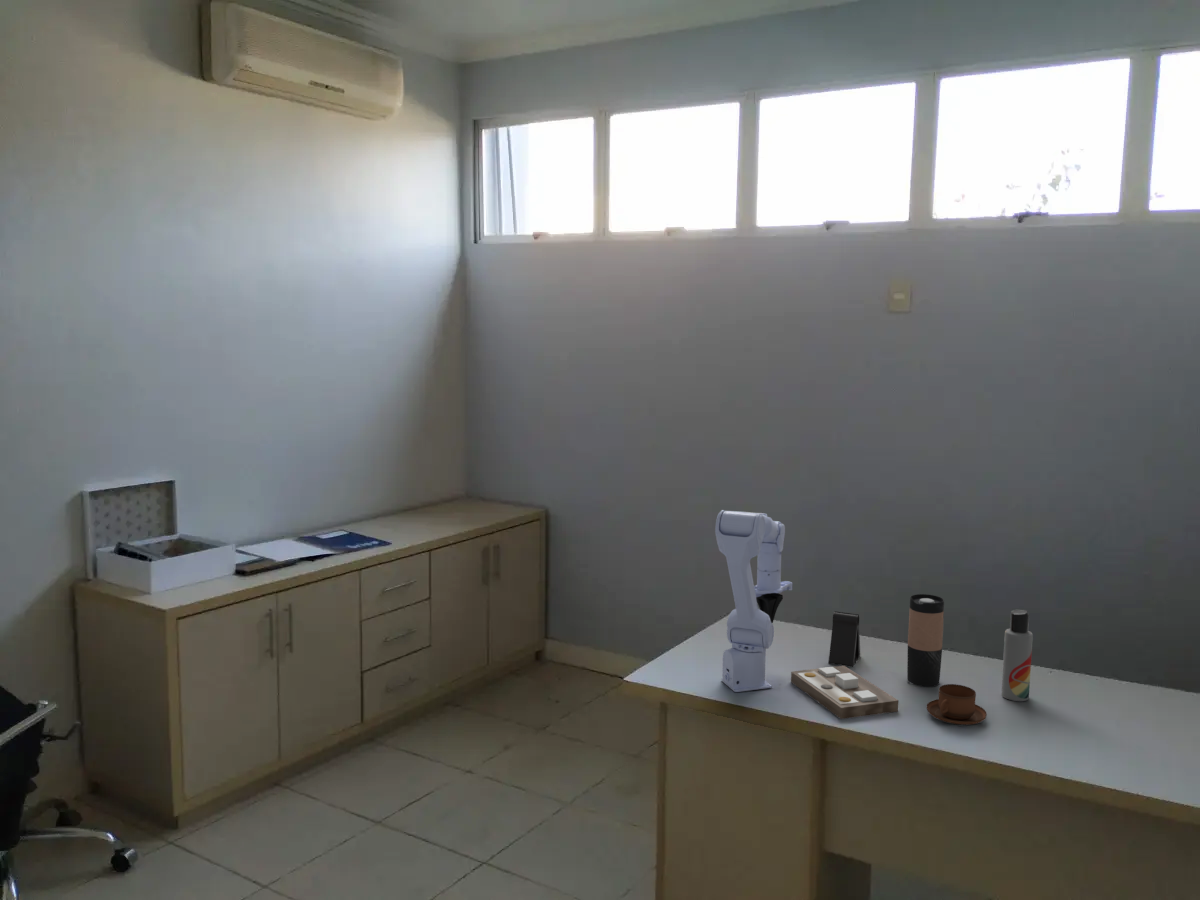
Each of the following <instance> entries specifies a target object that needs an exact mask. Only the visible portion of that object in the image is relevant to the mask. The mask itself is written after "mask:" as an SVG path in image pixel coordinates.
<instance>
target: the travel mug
mask: <svg viewBox="0 0 1200 900" xmlns="http://www.w3.org/2000/svg"><path fill="white" fill-rule="evenodd" d="M944 611H945V600H944V598H942V597H941V596H938V595H933V594H928V593H927V594H926V593H925V594H924V593H919V594H912V595H910V598H909V613H908V615H909V616H908V631H907V661H906V662H907V666H906V667H907V668H906V669H907V670H906V671H907V672H906V674H907V681H908V683H910V684H912V685H915V686H919V687H924V688H925V687H926V688H930V687H931V688H933V687H936V686H938V685H940V680H941V679H940V678H941V667H942V656H943V643H944V642H943V638H944V637H943V635H944Z"/></svg>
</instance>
